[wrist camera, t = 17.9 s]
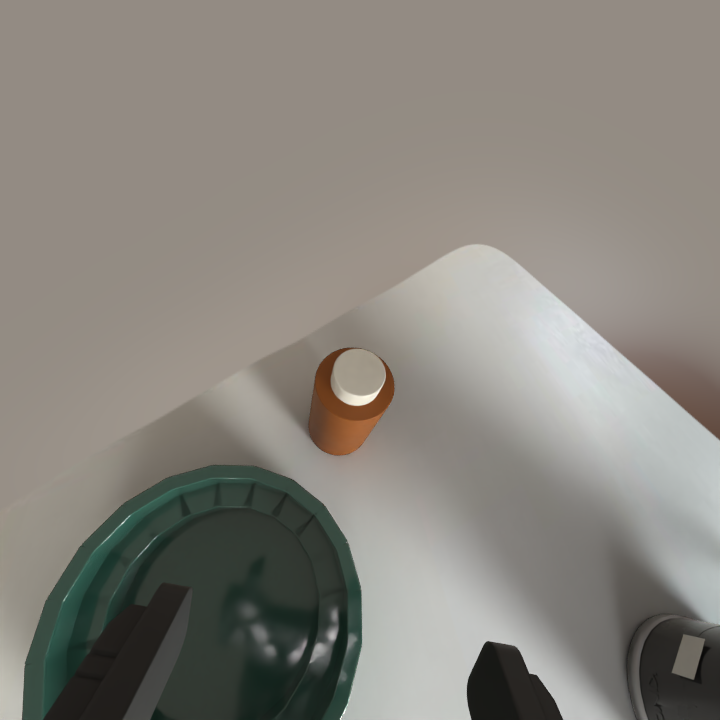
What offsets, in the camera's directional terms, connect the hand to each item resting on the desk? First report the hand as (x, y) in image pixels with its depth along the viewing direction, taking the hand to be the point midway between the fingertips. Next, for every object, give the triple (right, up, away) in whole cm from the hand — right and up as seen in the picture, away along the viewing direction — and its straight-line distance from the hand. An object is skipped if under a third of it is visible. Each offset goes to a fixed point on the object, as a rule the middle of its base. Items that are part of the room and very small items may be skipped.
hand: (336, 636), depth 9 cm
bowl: (-8, -8, +12) cm, 17 cm away
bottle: (-1, +2, +19) cm, 19 cm away
